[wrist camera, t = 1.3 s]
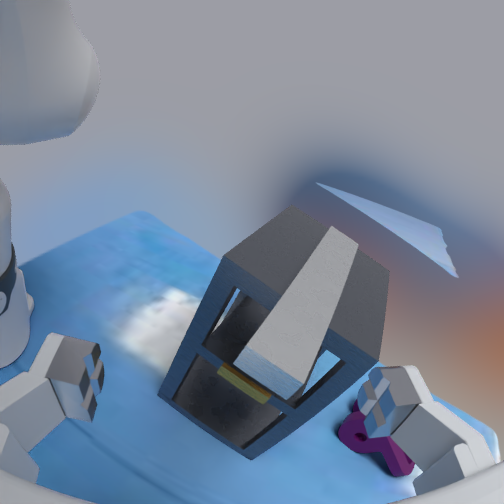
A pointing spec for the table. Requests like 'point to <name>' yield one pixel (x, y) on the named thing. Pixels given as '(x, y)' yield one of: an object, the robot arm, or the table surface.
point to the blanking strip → (300, 319)
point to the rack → (248, 322)
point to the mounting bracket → (373, 443)
